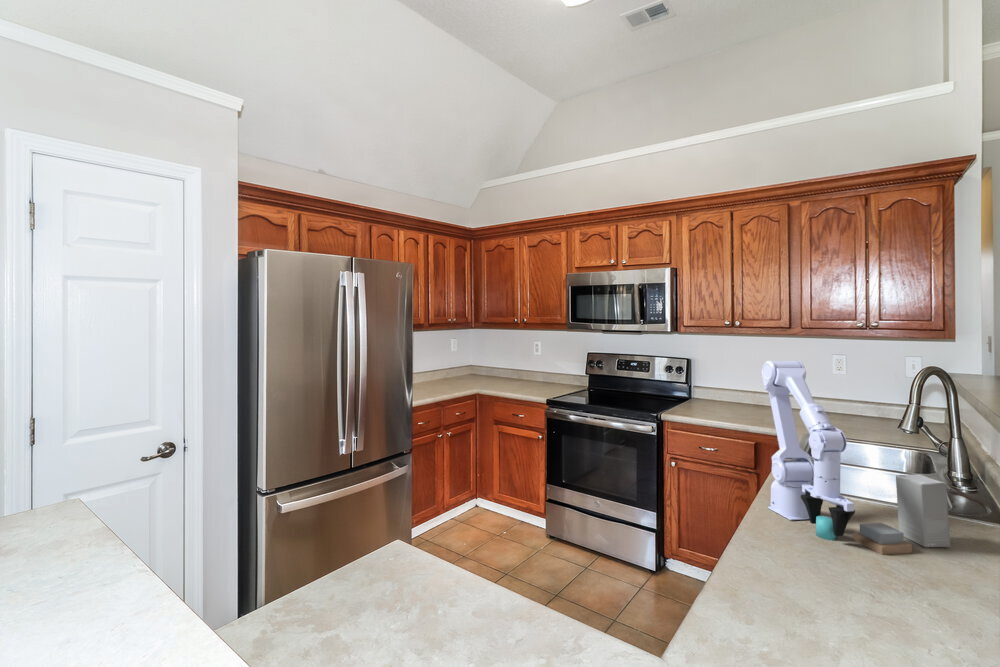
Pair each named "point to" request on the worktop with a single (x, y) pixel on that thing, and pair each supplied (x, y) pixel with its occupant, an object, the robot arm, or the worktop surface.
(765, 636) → the worktop surface
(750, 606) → the worktop surface
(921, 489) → the skincare box
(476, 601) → the worktop surface
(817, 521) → the teal cylinder
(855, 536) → the walnut base slab
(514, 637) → the worktop surface
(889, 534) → the slate top slab
